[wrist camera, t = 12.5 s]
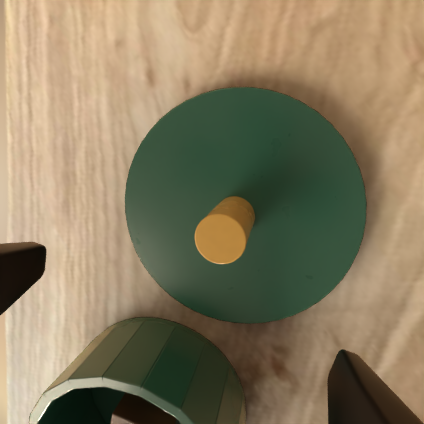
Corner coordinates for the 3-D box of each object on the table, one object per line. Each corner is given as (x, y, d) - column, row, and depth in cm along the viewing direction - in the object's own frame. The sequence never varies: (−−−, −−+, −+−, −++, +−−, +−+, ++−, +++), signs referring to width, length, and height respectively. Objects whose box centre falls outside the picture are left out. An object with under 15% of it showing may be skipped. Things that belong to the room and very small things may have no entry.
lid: (404, 122, 16) (467, 113, 10) (313, 343, 20) (326, 419, 14) (153, 66, 18) (98, 34, 12) (118, 275, 22) (65, 318, 16)
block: (188, 387, 22) (169, 438, 18) (178, 426, 23) (158, 482, 19) (140, 368, 23) (111, 413, 19) (132, 407, 24) (103, 457, 20)
